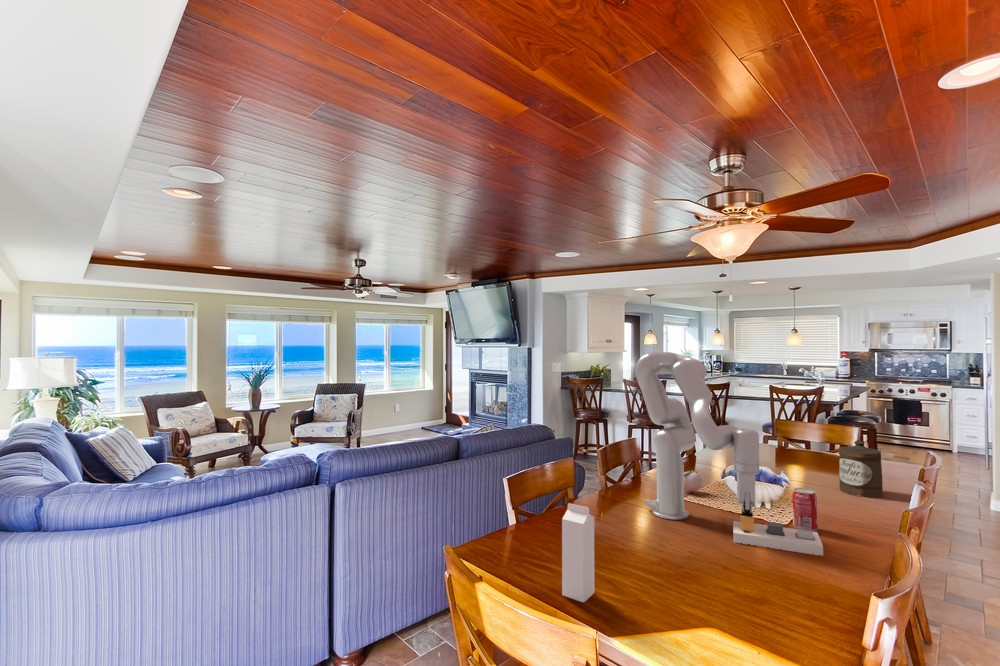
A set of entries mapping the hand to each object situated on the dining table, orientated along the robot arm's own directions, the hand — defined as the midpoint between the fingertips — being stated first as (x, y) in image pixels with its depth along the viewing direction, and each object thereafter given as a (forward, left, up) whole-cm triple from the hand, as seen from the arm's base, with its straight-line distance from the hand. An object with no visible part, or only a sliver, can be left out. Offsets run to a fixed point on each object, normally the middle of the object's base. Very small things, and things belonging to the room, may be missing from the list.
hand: (747, 524), depth 162 cm
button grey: (+16, -1, -2) cm, 16 cm away
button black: (+8, -1, -2) cm, 8 cm away
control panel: (+8, -1, -4) cm, 9 cm away
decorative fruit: (-20, +44, -4) cm, 49 cm away
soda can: (+18, +16, -4) cm, 24 cm away
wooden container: (+45, +76, -4) cm, 88 cm away
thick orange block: (0, -3, -4) cm, 5 cm away
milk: (-39, -60, -4) cm, 72 cm away
